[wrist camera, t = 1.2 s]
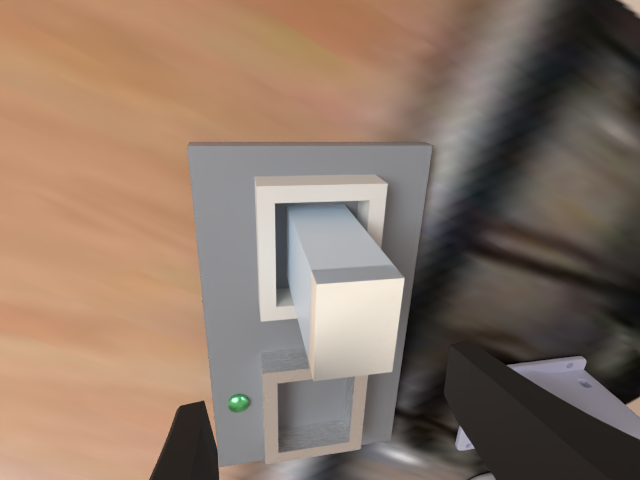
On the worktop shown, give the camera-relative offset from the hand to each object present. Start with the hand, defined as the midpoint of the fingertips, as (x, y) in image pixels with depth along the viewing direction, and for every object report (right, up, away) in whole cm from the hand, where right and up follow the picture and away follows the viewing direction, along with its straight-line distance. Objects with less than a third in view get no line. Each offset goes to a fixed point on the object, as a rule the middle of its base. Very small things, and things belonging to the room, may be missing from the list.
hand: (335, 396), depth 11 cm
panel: (-1, 0, +13) cm, 13 cm away
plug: (-1, +4, +9) cm, 11 cm away
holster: (-1, +5, +10) cm, 12 cm away
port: (-2, -5, +14) cm, 15 cm away
